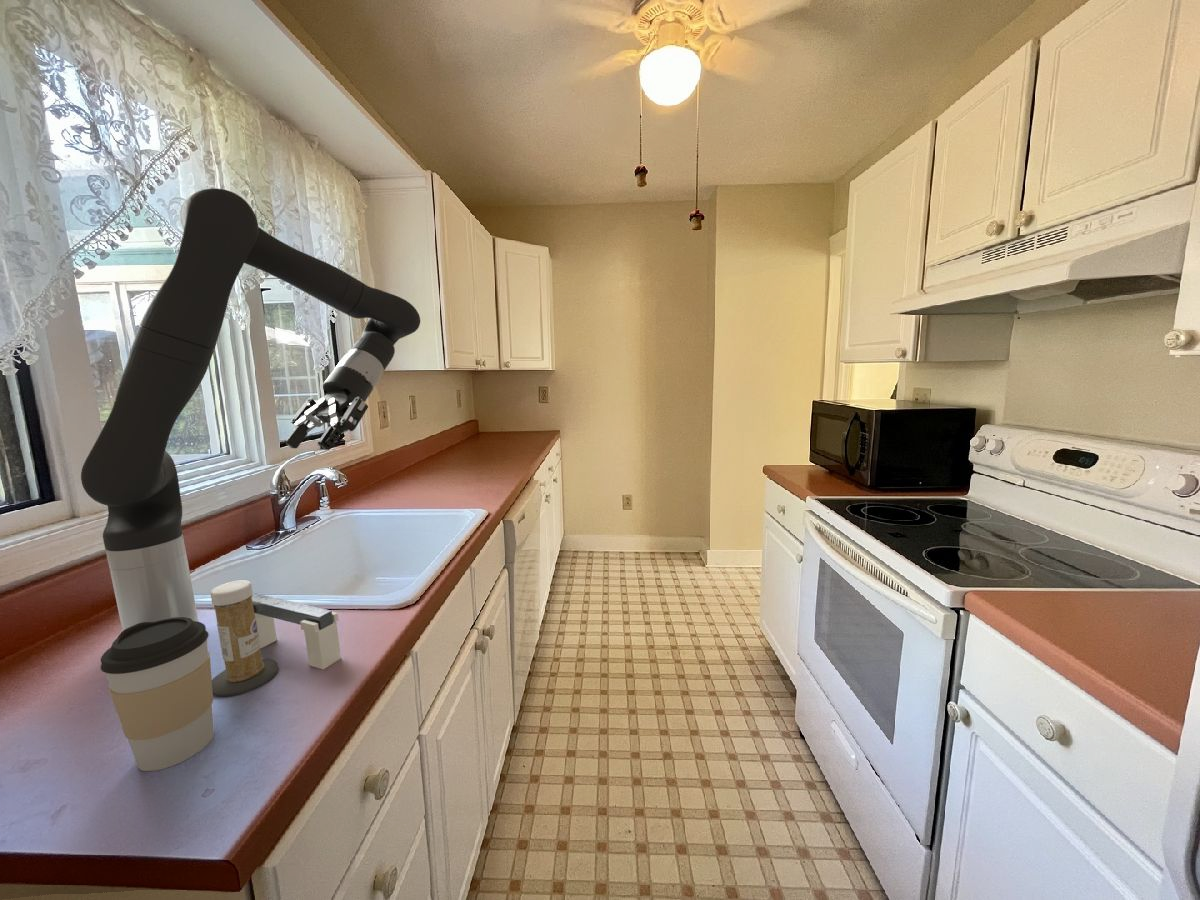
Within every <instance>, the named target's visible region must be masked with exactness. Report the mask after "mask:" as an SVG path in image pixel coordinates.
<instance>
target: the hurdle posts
mask: <svg viewBox="0 0 1200 900" xmlns="http://www.w3.org/2000/svg"><path fill="white" fill-rule="evenodd" d="M254 614H255V619H256V622H257V628H258V634H259V640H260V650H261V649H263V648H265V647H267V646H268V645H270V644H272V643H274V642H276V641H278V638H277V637H278V636H277V633H276V632H277V630H276V624H275V618H272V617H268V616H265V615H261V614H257V613H254ZM338 614H339V613H338V612H335V611H332V617H333V624H331V625H329V626H327V627H326V628H324V629H322V630H319V627H318V623H315V622H311V621H307V620H303V621H301V622H300V624H301V625H300V624H299V625H300V629H301V630H302V631H303V632H304V639H305V645H306V651H307V658H308V664H309V665H308V666H310V667H313V668H316V669H319V670H325V669H327V668H328V667H329V666H331V665H333V664H335V663H336V662H338V661H340V660H341V659H342V654H341V647H340V641H339V639H340V638H339V632H338V626H337V625H338V624H337V622H338V621H339V615H338Z"/></svg>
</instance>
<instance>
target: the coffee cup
mask: <svg viewBox="0 0 1200 900" xmlns="http://www.w3.org/2000/svg"><path fill="white" fill-rule="evenodd" d="M206 628H207V627H206V625H205V624H204V623H202V622H200V621H198V622H197V621H193V620H192V619H190V618H187V617H175V618H169V619H163V620H159V621H155V622H143V623H138V624H136V625H134V626H131V627H129V628H127V629H125V630H124V631H121V632H120V633H119V635H118V636H117V637H116V639H115V640H114V641H113V642H112V644H111V647H109V648H108V649H107V650H105V652H104V653H103V654H102V655H101V657H100V663H101V664H100V667H99V668H100V670H101V671H102V672H103V673H105V676H106V679H107V682H108V690H109V691H108V692H109V694H110V696H111V700H112V702H113V706H114V708H115V711H116V714H117V716H118V717H117V718H118V719H119V722H120V725H121V728H122V731H123V734H124V737H125V738H126V739H127V740H128V743H129V746H130V749H131V752H132V754H133V758H134V760H135V764H136V767H137V768H138V769H139V770H140V771H144V772H155V771H160V770H161V771H162V770H164V769H167V768H168V769H169V768H171V767H173V766H175V765H178V764H181V763H182V762H184V761H187V760H188V759H190V758H191V757H193V756H195V755H196V754H198V753H199V752H200V751H202V750H203V749H204V748H205V747H207V745H209V743H210V742H211V741H212V740H213V738H214V736H215V735H214V734H215V728H214V714H213V703H214V696H213V691H212V679H213V678H212V667H211V654H210V652H209V651H208V638H209V636H210V635H209V632H208V631H207V630H206Z"/></svg>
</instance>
